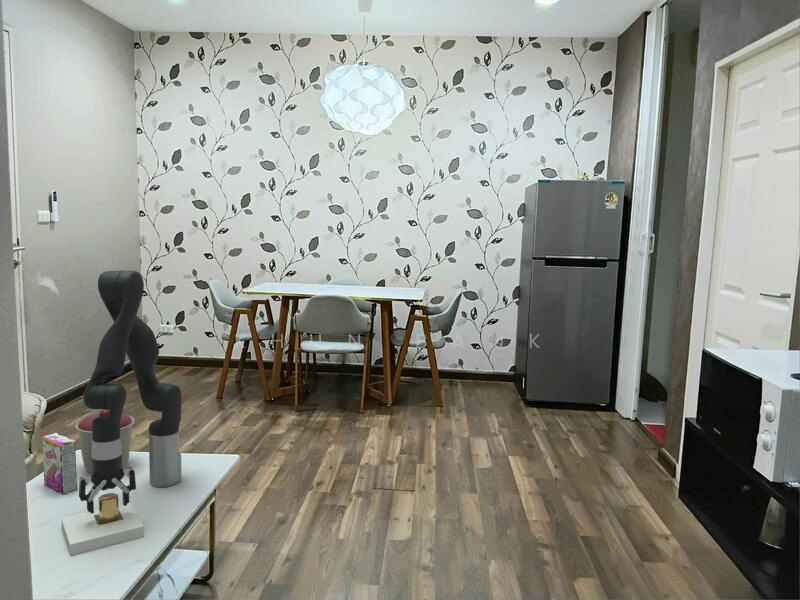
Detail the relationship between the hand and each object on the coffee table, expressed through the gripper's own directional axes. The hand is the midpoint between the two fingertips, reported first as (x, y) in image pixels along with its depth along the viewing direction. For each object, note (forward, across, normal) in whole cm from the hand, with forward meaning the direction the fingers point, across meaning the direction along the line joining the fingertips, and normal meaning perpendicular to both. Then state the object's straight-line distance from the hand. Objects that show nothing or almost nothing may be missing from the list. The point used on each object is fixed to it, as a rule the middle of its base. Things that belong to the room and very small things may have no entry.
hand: (108, 508), depth 172 cm
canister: (+6, -7, -42) cm, 43 cm away
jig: (+6, +2, +2) cm, 6 cm away
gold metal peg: (+6, 0, 0) cm, 6 cm away
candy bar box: (+6, +8, -34) cm, 35 cm away
